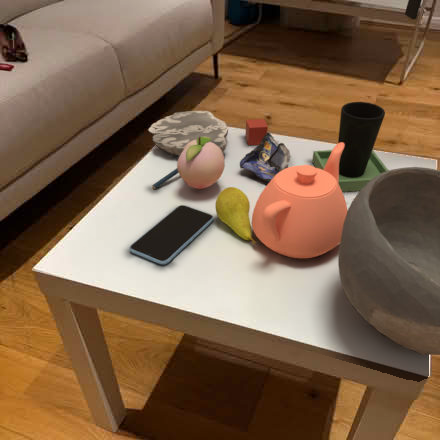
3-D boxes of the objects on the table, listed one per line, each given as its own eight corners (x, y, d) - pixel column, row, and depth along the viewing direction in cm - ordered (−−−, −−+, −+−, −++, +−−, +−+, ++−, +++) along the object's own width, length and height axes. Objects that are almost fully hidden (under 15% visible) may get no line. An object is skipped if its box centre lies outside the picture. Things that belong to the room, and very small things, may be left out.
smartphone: (215, 215, 80) (164, 263, 70) (215, 219, 80) (164, 267, 71) (180, 202, 82) (126, 247, 73) (180, 206, 83) (127, 251, 74)
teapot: (295, 191, 87) (304, 127, 78) (370, 220, 80) (388, 154, 72) (223, 248, 74) (224, 180, 66) (304, 288, 68) (317, 218, 59)
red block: (262, 136, 104) (264, 118, 101) (266, 144, 101) (267, 126, 98) (245, 137, 103) (246, 119, 101) (248, 145, 100) (249, 127, 98)
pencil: (151, 184, 87) (208, 145, 92) (153, 189, 88) (210, 149, 93) (153, 185, 86) (211, 145, 92) (155, 189, 87) (212, 150, 92)
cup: (367, 183, 88) (383, 121, 79) (327, 177, 89) (338, 115, 81) (371, 164, 93) (386, 104, 85) (333, 158, 95) (344, 99, 86)
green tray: (368, 158, 97) (371, 147, 95) (391, 189, 88) (394, 178, 86) (311, 161, 96) (313, 150, 94) (329, 192, 87) (331, 181, 85)
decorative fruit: (218, 203, 84) (218, 152, 77) (174, 198, 85) (171, 147, 78) (228, 177, 90) (229, 128, 83) (187, 173, 91) (185, 123, 84)
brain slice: (144, 128, 106) (142, 115, 104) (216, 121, 109) (216, 108, 107) (158, 170, 92) (157, 156, 90) (240, 160, 96) (240, 146, 94)
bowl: (442, 425, 53) (536, 356, 42) (277, 297, 61) (319, 209, 49) (502, 314, 68) (584, 241, 56) (363, 221, 75) (411, 140, 64)
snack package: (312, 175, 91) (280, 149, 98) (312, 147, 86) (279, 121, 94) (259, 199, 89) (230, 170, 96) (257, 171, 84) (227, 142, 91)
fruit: (211, 204, 82) (233, 263, 77) (209, 186, 76) (232, 248, 72) (242, 194, 82) (266, 252, 78) (242, 175, 76) (267, 237, 72)
